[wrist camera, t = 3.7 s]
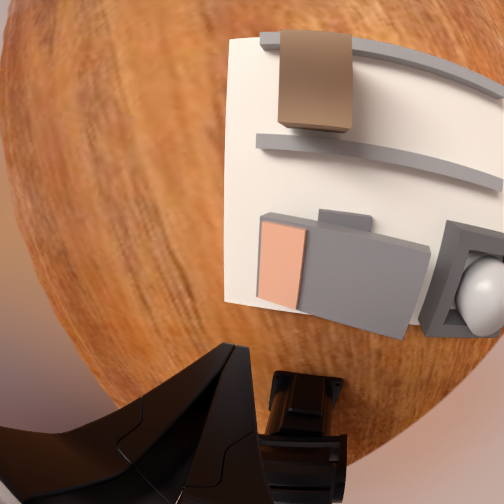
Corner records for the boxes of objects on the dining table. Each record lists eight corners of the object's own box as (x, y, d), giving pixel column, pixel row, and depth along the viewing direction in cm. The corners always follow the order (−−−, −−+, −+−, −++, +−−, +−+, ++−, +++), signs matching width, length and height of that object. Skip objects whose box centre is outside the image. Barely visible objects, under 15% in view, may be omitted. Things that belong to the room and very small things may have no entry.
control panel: (484, 311, 16) (506, 342, 12) (234, 284, 21) (214, 317, 17) (522, 113, 10) (556, 113, 6) (241, 51, 14) (218, 27, 10)
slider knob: (343, 133, 13) (351, 128, 9) (286, 128, 13) (277, 121, 10) (345, 58, 11) (351, 34, 8) (289, 54, 12) (280, 29, 8)
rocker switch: (403, 328, 13) (401, 343, 12) (265, 288, 17) (253, 299, 16) (429, 246, 11) (431, 255, 10) (270, 211, 16) (256, 217, 14)
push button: (490, 317, 13) (503, 335, 11) (445, 315, 14) (456, 336, 12) (512, 259, 11) (529, 273, 9) (467, 251, 12) (484, 266, 10)
